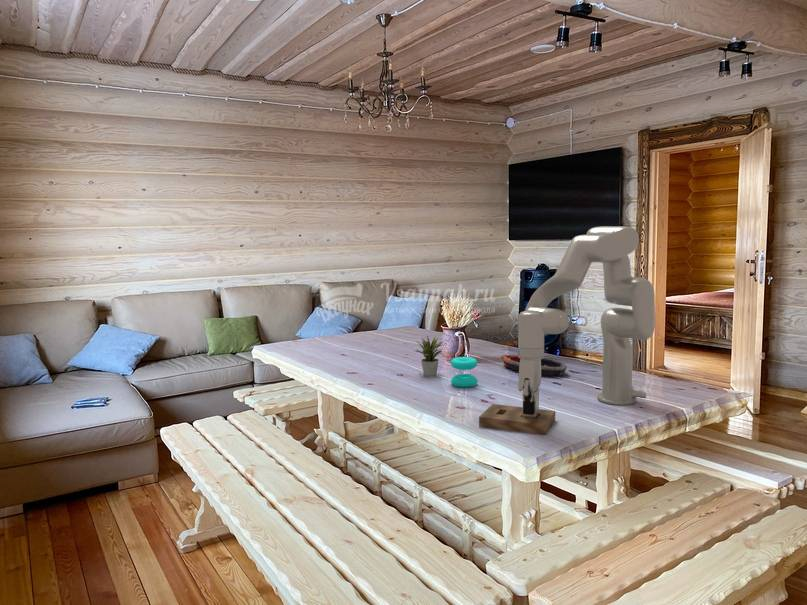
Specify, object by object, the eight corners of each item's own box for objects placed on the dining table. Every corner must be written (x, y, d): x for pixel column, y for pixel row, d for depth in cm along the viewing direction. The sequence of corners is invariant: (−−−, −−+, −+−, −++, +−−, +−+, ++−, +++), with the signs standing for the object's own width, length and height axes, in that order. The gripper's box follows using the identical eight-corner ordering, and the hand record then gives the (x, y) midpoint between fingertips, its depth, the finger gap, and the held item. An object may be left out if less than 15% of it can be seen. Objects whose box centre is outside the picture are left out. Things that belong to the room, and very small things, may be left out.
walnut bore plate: (555, 420, 185) (555, 410, 185) (545, 435, 173) (545, 425, 172) (492, 412, 194) (492, 403, 194) (479, 426, 181) (478, 416, 181)
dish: (552, 381, 232) (552, 368, 231) (492, 367, 255) (492, 356, 254) (575, 374, 242) (576, 362, 241) (515, 361, 265) (515, 350, 264)
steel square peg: (538, 424, 183) (538, 388, 181) (535, 428, 179) (535, 392, 178) (525, 422, 184) (525, 387, 183) (522, 426, 181) (522, 391, 179)
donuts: (481, 360, 223) (455, 362, 221) (481, 387, 225) (456, 389, 222) (471, 355, 233) (447, 357, 231) (472, 380, 234) (447, 382, 232)
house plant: (445, 380, 235) (445, 339, 232) (411, 379, 237) (410, 339, 235) (450, 371, 248) (449, 333, 246) (417, 370, 251) (416, 332, 249)
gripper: (525, 346, 188) (525, 402, 190) (511, 357, 173) (511, 418, 175) (549, 347, 185) (549, 405, 187) (537, 359, 170) (536, 421, 172)
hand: (530, 411), depth 181 cm, fingers open, 4 cm apart
